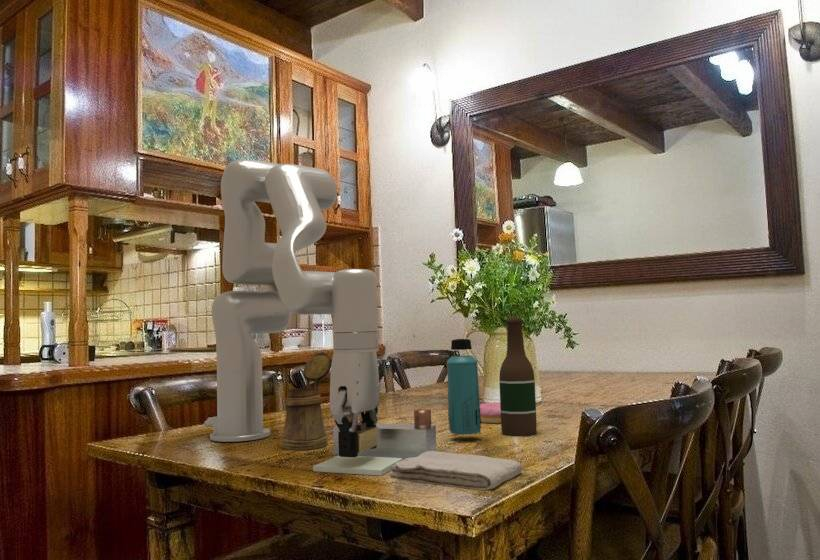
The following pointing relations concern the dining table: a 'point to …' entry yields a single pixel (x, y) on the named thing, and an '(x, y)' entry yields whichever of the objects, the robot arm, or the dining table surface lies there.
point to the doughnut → (490, 413)
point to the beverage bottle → (463, 391)
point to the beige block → (365, 437)
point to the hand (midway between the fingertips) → (358, 451)
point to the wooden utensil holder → (306, 409)
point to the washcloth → (456, 470)
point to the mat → (357, 465)
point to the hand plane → (401, 438)
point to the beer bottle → (517, 385)
